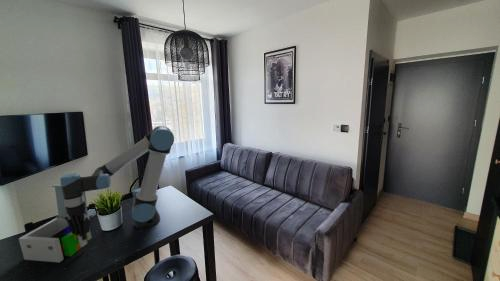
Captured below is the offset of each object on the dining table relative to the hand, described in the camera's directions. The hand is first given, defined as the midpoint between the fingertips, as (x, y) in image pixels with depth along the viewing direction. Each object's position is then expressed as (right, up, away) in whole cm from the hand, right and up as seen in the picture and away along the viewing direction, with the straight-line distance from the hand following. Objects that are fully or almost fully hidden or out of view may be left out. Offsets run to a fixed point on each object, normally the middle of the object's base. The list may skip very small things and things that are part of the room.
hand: (83, 245), depth 107 cm
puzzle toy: (-8, -3, +2) cm, 9 cm away
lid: (-13, +20, +6) cm, 25 cm away
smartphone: (-26, +4, +38) cm, 46 cm away
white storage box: (-14, -3, +2) cm, 14 cm away
